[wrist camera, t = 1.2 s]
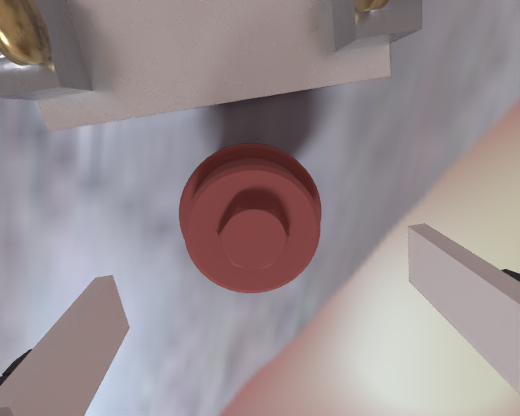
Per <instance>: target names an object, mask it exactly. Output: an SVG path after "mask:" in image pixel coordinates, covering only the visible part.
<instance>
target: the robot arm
mask: <svg viewBox="0 0 520 416" xmlns="http://www.w3.org/2000/svg"><path fill="white" fill-rule="evenodd" d="M408 254H409V255H408V257H409V282H410V283H411V284H412V285H413V286H414V287H415V288H416V289H417V290H418V291H419V292H420V293H421V294H422V295H423V296H424V297H425V298H426V299H427V300H428V301H429V302H430V303H431V304H432V305H433V306H434V307H435V308H436V309H437V310H438V312H439V313H440V314H441V315H442V316H443V317H444V318H445V319H446V320H447V321H448V322H449V323H450V324H451V325H452V326H453V327H454V328H455V329H456V330H457V331H458V332H459V333H460V334H461V335H462V336H463V337H464V338H465V339H466V340H467V341H468V342H469V343H470V344H471V345H472V346H473V347H474V348H475V349H476V350H477V351H478V352H479V353H480V355H481V356H483V357H484V359H485V360H486V361H487V362H488V363H489V364H490V365H491V366H492V367H493V368H494V369H495V370H496V371H497V372H498V373H499V374H500V375H501V376H502V377H503V378H504V379H505V380H506V381H507V382H508V383H509V384H510V385H511V386H512V387H513V388H514V389H515V390H516V391H517V392H518V393H519V394H520V274H519V273H516V272H513V271H510V270H507V269H504V270H499V269H498V268H496V267H495V266H493V265H491V264H490V263H488V262H486V261H485V260H483V259H482V258H480V257H478V256H477V255H475V254H473V253H472V252H470V251H469V250H467V249H465V248H464V247H462V246H461V245H459V244H457V243H456V242H454V241H452V240H451V239H449V238H448V237H446V236H444V235H443V234H441V233H440V232H438V231H436V230H435V229H433V228H431V227H430V226H428V225H426V224H419V225H413V226H408ZM128 330H129V325H128V321H127V318H126V315H125V312H124V309H123V306H122V303H121V300H120V297H119V293H118V290H117V287H116V284H115V281H114V278H113V275H110V276H104V277H98V278H95V279H94V280H93V281H92V282H91V283H90V285H89V286H88V287H87V288H86V289H85V290H84V291H83V293H82V294H81V295H80V296H79V297H78V298H77V299H76V300H75V302H74V303H73V304H72V305H71V306H70V307H69V308H68V310H67V311H66V312H65V313H64V314H63V315H62V316H61V318H60V319H59V320H58V321H57V322H56V323H55V324H54V326H53V327H52V328H51V329H50V330H49V331H48V332H47V333H46V335H45V336H44V337H43V338H42V339H41V340H40V341H39V343H38V344H37V345H36V346H35V347H34V348H33V349H30V350H28V351H27V352H26V353H24V354H23V355H22V356H20V357H19V358H18V359H16V360H15V361H14V362H13V363H12V364H11V365H10V366H9V367H8V368H7V370H6V371H5V372H4V373H3V374H2V376H1V377H0V416H84V415H85V413H86V411H87V409H88V407H89V405H90V403H91V401H92V399H93V397H94V395H95V394H96V392H97V390H98V388H99V386H100V384H101V382H102V380H103V378H104V376H105V374H106V372H107V370H108V369H109V367H110V365H111V363H112V361H113V359H114V357H115V355H116V353H117V351H118V349H119V347H120V345H121V343H122V342H123V340H124V338H125V336H126V334H127V332H128Z"/></svg>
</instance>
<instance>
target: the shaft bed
mask: <svg viewBox="0 0 520 416" xmlns="http://www.w3.org/2000/svg"><path fill="white" fill-rule="evenodd" d="M421 29H422V0H0V98H6V99H24V100H37V101H38V104H39V107H40V110H41V113H42V116H43V118H44V121H45V124H46V127H47V130H48V132H49V131H57V130H63V129H69V128H75V127H82V126H88V125H94V124H100V123H106V122H112V121H118V120H125V119H131V118H137V117H143V116H149V115H155V114H161V113H168V112H174V111H180V110H186V109H192V108H198V107H204V106H211V105H217V104H223V103H229V102H235V101H241V100H247V99H254V98H260V97H266V96H272V95H278V94H284V93H290V92H297V91H303V90H309V89H315V88H321V87H327V86H333V85H340V84H346V83H352V82H358V81H364V80H370V79H376V78H383V77H388V76H391V75H390V47H389V43H392V42H394V41H396V40H398V39H401V38H403V37H405V36H407V35H409V34H412V33H414V32H416V31H418V30H421Z"/></svg>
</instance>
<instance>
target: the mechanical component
mask: <svg viewBox="0 0 520 416" xmlns="http://www.w3.org/2000/svg"><path fill="white" fill-rule="evenodd" d="M179 221H180V227H181V231H182V234H183V237H184V239H185V243H186V247H187V250H188V253H189V255H190V257H191V259H192V261H193V262H194V264H195V266H196V267H197V268H198V269H199V270H200V272H201V273H202V274H203V275H204V276H206V277H207V278H208V279H209V280H211V281H212V282H214V283H216V284H217V285H219V286H221V287H224V288H226V289H228V290H232V291H236V292H243V293H260V292H266V291H270V290H273V289H276V288H279V287H281V286H283V285H285V284H287V283H289V282H290V281H292V280H293V279H295V278H296V277H297V276H298V275H299V274H300V273H301V272H302V271H303V270H304V269H305V268H306V267H307V265H308V264H309V263H310V261H311V259H312V258H313V256H314V254H315V251H316V249H317V246H318V242H319V238H320V221H321V202H320V197H319V193H318V190H317V187H316V185H315V183H314V181H313V179H312V178H311V176H310V175H309V173H308V172H307V171H306V169H305V168H304V167H303V166H302V165H301V164H300V163H299V162H298V161H296V160H295V159H294V158H293V157H291V156H290V155H288V154H287V153H285V152H284V151H281V150H279V149H277V148H275V147H271V146H268V145H264V144H257V143H244V144H237V145H233V146H229V147H226V148H224V149H221V150H219V151H217V152H215V153H214V154H212V155H211V156H209V157H208V158H206V159H205V160H204V161H203V162H202V163H201V164H200V165H199V166H198V167H197V168H196V170H195V171H194V172H193V174H192V175H191V177H190V178H189V179H188V181H187V183H186V185H185V187H184V190H183V193H182V196H181V200H180V206H179Z"/></svg>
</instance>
